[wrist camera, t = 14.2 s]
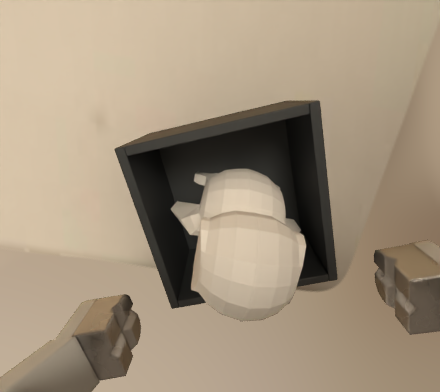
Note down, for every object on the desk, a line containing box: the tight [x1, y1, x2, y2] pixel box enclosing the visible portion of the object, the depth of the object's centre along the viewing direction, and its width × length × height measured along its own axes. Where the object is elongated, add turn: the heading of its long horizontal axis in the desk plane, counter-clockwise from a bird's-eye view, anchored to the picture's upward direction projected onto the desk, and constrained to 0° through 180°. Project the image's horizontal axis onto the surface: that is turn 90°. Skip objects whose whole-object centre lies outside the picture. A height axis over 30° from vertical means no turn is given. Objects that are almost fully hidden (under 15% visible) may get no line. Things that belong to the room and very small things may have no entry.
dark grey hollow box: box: [115, 101, 337, 309], centre depth 17 cm, size 10×10×6 cm
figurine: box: [171, 169, 306, 321], centre depth 14 cm, size 8×5×12 cm, turn 81°
